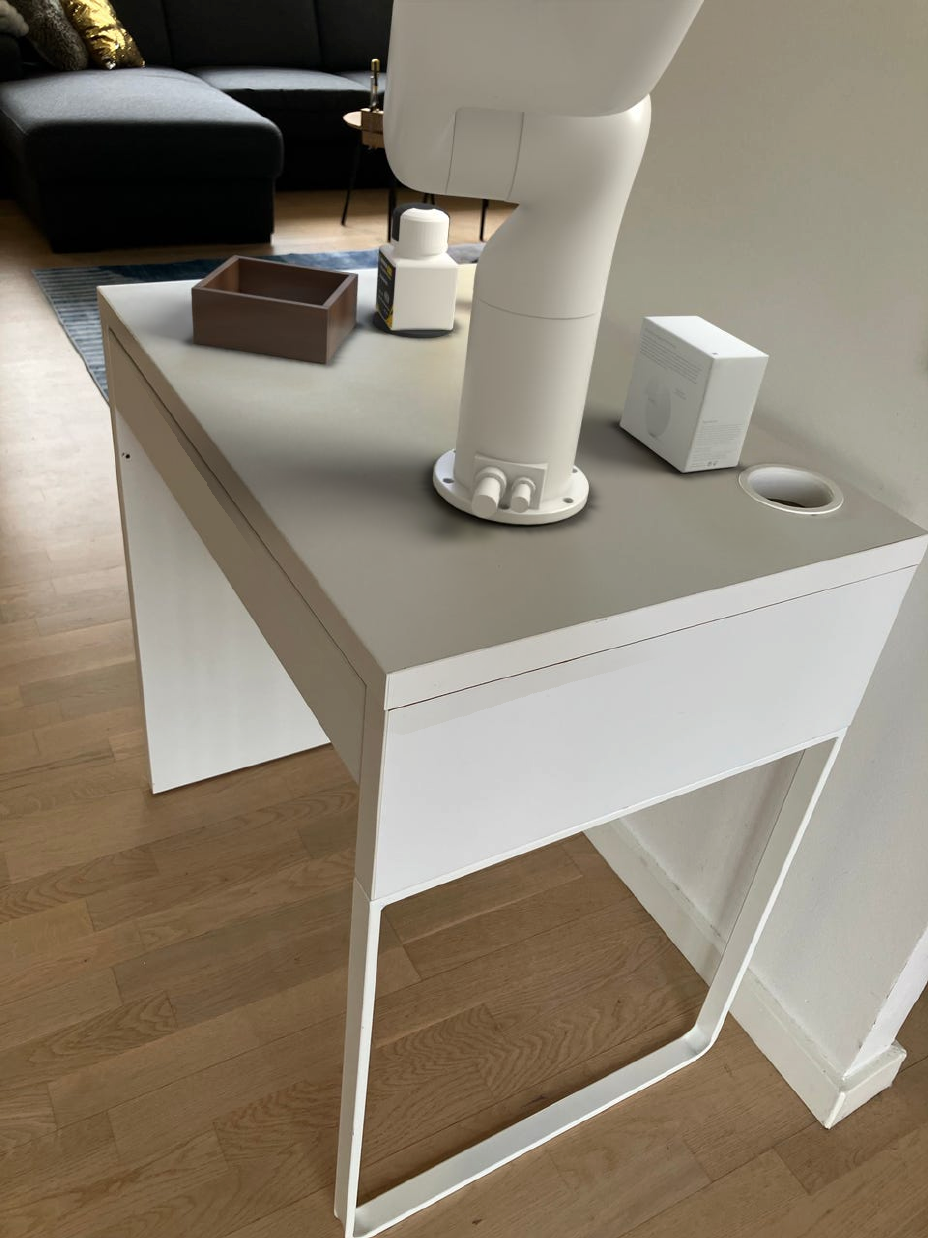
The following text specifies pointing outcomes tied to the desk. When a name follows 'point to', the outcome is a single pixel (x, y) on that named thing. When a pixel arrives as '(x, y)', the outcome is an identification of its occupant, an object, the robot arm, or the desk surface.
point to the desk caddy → (275, 308)
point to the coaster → (409, 333)
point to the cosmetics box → (692, 392)
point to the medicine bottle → (417, 271)
